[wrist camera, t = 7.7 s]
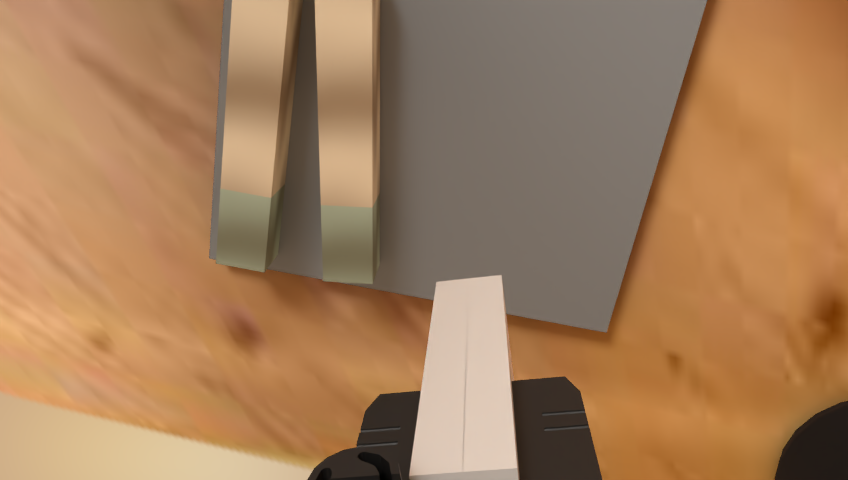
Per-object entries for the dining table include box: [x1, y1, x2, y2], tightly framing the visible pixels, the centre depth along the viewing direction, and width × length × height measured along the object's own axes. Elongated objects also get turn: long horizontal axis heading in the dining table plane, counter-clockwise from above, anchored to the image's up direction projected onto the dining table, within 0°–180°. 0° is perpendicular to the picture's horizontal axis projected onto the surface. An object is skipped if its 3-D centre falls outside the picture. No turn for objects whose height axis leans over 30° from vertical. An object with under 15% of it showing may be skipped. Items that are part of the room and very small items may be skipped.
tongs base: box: [216, 0, 303, 272], centre depth 31 cm, size 20×5×4 cm, turn 170°
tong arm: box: [315, 0, 380, 284], centre depth 32 cm, size 15×2×2 cm, turn 178°
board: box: [209, 0, 707, 333], centre depth 33 cm, size 22×22×1 cm
